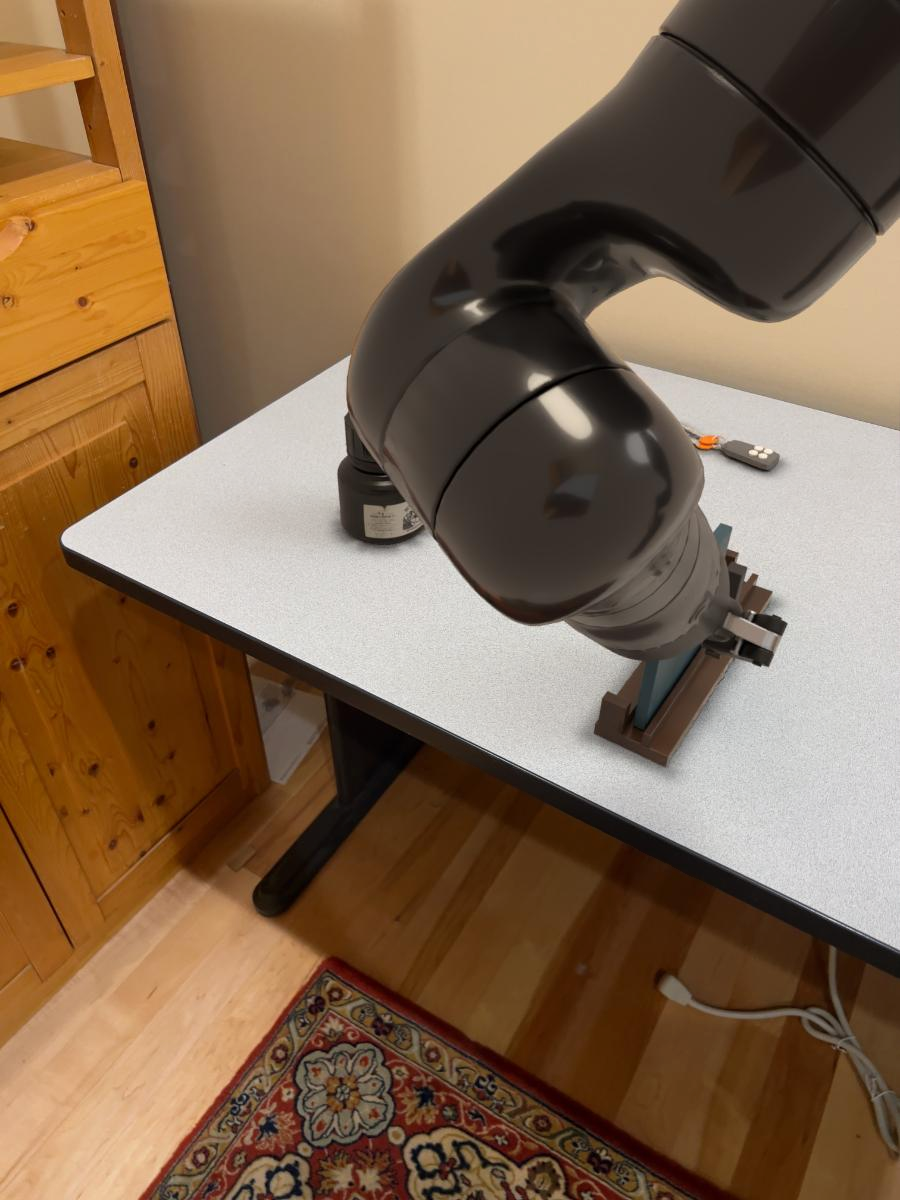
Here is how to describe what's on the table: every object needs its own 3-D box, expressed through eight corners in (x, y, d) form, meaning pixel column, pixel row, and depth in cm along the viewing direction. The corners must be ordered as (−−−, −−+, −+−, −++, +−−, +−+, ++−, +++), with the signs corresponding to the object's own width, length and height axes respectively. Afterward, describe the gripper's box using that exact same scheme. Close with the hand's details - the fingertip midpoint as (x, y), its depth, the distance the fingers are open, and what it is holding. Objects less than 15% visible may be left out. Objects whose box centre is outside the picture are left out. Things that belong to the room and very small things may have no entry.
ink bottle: (380, 561, 86) (375, 451, 78) (320, 526, 90) (310, 420, 83) (448, 520, 91) (449, 415, 84) (388, 489, 96) (384, 387, 88)
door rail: (770, 601, 81) (780, 566, 79) (665, 767, 66) (674, 730, 63) (708, 578, 84) (716, 544, 81) (593, 733, 68) (599, 697, 66)
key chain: (781, 461, 101) (784, 449, 100) (767, 473, 99) (770, 462, 98) (680, 426, 108) (682, 415, 107) (665, 437, 106) (667, 426, 105)
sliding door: (736, 657, 73) (772, 531, 65) (680, 747, 66) (713, 616, 58) (692, 639, 75) (722, 514, 67) (632, 725, 67) (658, 595, 59)
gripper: (814, 538, 37) (818, 611, 52) (537, 448, 42) (615, 538, 58) (743, 703, 37) (768, 727, 52) (474, 591, 42) (570, 642, 58)
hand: (688, 627), depth 55 cm, fingers closed
